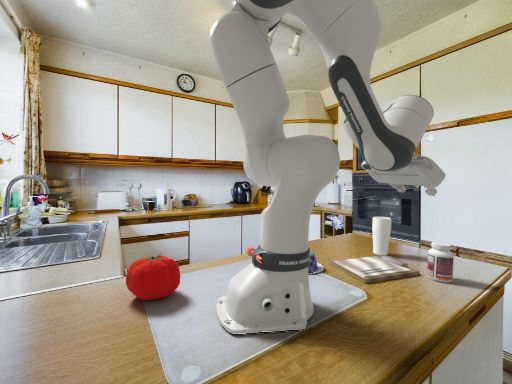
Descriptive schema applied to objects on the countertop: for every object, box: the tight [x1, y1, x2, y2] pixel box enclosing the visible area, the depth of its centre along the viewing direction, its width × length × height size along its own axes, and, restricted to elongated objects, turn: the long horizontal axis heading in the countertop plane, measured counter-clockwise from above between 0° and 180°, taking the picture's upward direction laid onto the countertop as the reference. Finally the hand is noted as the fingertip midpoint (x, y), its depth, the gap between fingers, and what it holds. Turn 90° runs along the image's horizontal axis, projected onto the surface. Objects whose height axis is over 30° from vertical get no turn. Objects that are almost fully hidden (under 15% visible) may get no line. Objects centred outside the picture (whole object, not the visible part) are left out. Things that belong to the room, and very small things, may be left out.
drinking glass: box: [371, 216, 392, 256], centre depth 95 cm, size 7×7×15 cm
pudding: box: [308, 251, 325, 274], centre depth 80 cm, size 12×12×5 cm
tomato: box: [125, 252, 181, 301], centre depth 59 cm, size 11×13×10 cm
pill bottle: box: [426, 241, 455, 284], centre depth 72 cm, size 6×6×11 cm
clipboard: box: [329, 255, 421, 284], centre depth 79 cm, size 22×16×2 cm
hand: (417, 192), depth 65 cm, fingers open, 8 cm apart
